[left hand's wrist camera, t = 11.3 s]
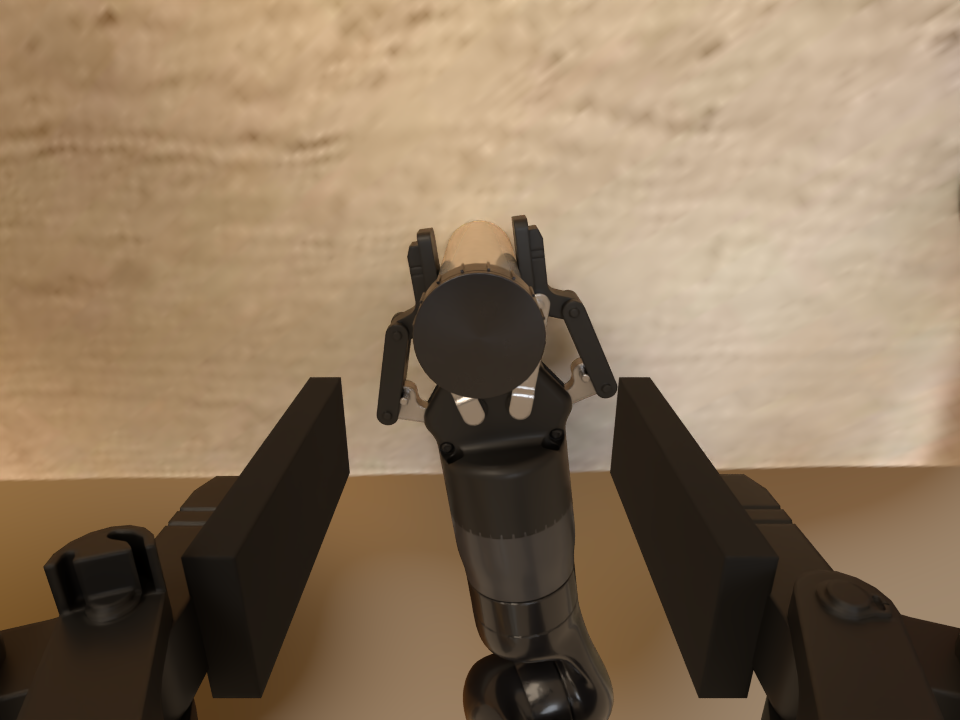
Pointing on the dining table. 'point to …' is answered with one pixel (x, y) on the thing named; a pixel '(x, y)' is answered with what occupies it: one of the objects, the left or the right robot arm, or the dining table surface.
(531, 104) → the dining table surface
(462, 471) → the right robot arm
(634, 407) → the left robot arm
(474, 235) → the beige long cylinder
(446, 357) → the lid
